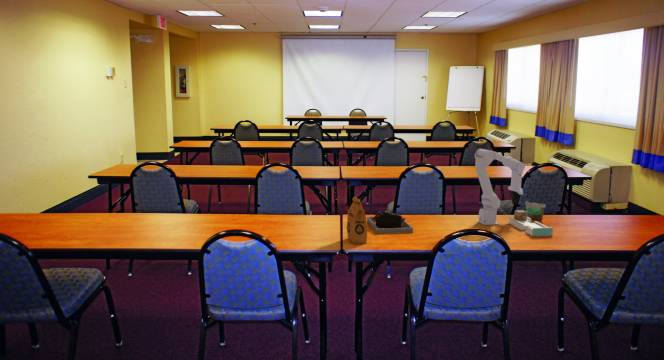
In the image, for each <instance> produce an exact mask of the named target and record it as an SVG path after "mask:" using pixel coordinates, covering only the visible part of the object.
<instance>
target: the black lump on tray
mask: <svg viewBox="0 0 664 360" xmlns="http://www.w3.org/2000/svg"><path fill="white" fill-rule="evenodd" d="M373 217H374V218H373V220H375V221H374V222H375V223H374V224H375V225H376V226H377V227H378V229H383V228H384V229H385V228H403V224H402V222H403V221H404V220H405V221H406V217H404V218H403V216H402V215H401V214H398V213H393V212H392V210H385V211H384V212H380V211H378V212H377V213H375V214H374V215H373Z"/></svg>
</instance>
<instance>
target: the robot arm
mask: <svg viewBox="0 0 664 360" xmlns="http://www.w3.org/2000/svg"><path fill="white" fill-rule="evenodd" d="M474 158H475V170H476V171H475V172H476V173H477V177H478V181H479V184H480V187H481V190H482V195H481V204H482V206H483V207H481V208H480V209H479V211H478V221H477V222H478V223H480V224H482V225H483V226H489V225H491V226H492V225H496V226H497V225H499V224H500V223H499V222H497V214H498V213H497V212H498V209H499V208H500V206H501V200H500V199H499V197H498V195H497V194H496V193H495V192H494V189H493V187H492V184H491V181H490V177H489V173H488V170H487V168H488V167H489V166H490V164H491V163H492V162H493V161H494V160H497V161H499V162H501V163H502V165H503V166H504V167H506V168H509V169H510V170H511V176H510V177H511V179H510V180H511V181H510V186H508V187H507V190H509V192H508V193H509V195H510V198H511V203H512V205H517V204H518V201H519V200H520V197H521V195H524V190H523V188H522V178H523V174H524V170H525V168H526V166H525V164H524V162H522V161H518V159H516V158H513V156H511V155H506V156H503V154H501V153H498V152H497V151H494V150H489V149H483V148H478V149H477V150H476V151H475V153H474Z"/></svg>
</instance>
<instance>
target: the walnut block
mask: <svg viewBox="0 0 664 360" xmlns="http://www.w3.org/2000/svg"><path fill="white" fill-rule="evenodd" d="M513 215H514V216H513V219H516V220H518V221H527V212H526V210H524V209H518V210H517V209H516V210H514V214H513Z"/></svg>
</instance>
